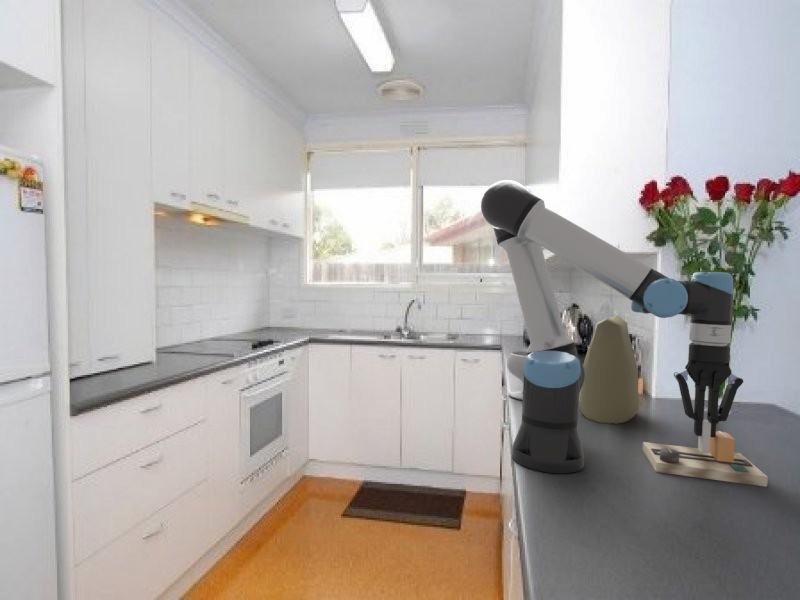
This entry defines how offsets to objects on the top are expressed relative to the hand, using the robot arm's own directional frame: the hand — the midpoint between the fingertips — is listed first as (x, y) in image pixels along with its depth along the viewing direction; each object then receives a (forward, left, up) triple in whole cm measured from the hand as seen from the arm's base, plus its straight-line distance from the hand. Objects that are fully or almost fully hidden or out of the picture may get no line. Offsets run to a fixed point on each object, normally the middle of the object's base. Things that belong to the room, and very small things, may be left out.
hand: (703, 450), depth 105 cm
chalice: (-39, +51, -4) cm, 64 cm away
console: (-1, 0, -4) cm, 4 cm away
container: (-15, +39, -4) cm, 42 cm away
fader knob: (+3, 0, -1) cm, 4 cm away
